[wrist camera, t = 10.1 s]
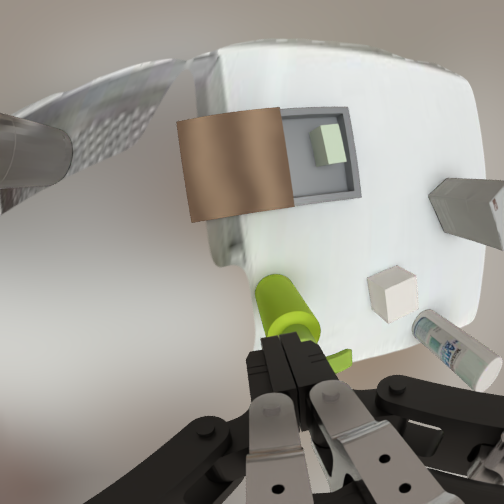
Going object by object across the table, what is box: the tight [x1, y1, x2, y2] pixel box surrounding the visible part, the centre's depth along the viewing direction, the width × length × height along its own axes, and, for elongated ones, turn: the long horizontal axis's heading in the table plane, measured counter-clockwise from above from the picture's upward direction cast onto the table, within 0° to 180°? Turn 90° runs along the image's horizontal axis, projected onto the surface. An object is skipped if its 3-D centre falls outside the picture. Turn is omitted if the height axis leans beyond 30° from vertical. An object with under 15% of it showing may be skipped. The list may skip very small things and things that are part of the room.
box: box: [280, 107, 362, 206], centre depth 36 cm, size 10×13×3 cm
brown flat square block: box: [177, 107, 295, 223], centre depth 35 cm, size 13×13×4 cm
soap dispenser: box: [255, 274, 352, 374], centre depth 32 cm, size 6×7×20 cm
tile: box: [309, 124, 347, 167], centre depth 35 cm, size 5×5×2 cm
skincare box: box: [428, 178, 504, 251], centre depth 34 cm, size 8×7×16 cm
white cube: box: [367, 265, 419, 324], centre depth 41 cm, size 6×6×6 cm
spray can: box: [412, 310, 502, 392], centre depth 37 cm, size 6×6×20 cm
